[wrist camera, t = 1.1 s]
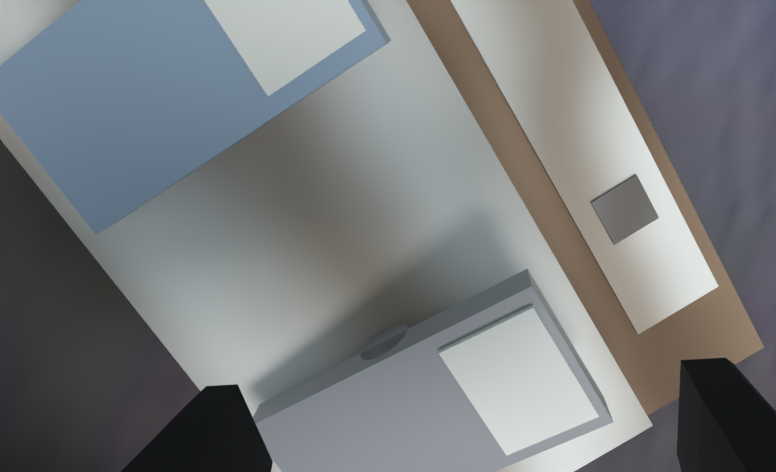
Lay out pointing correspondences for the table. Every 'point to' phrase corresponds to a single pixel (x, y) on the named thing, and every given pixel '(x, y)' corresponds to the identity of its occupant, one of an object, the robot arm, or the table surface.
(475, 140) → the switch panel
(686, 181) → the table surface
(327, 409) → the grey flat block
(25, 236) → the table surface
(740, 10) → the table surface
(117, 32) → the blue rectangular block
